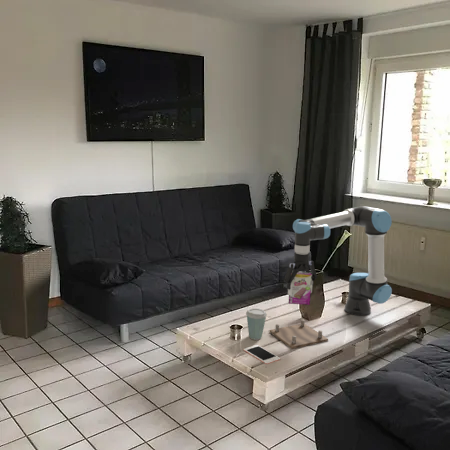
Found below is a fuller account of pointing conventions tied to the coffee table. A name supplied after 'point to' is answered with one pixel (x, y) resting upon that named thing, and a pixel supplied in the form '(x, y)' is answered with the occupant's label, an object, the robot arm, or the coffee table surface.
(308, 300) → the candy bar box
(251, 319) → the disposable coffee cup
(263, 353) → the cell phone
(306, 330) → the pin dock
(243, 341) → the coffee table surface
